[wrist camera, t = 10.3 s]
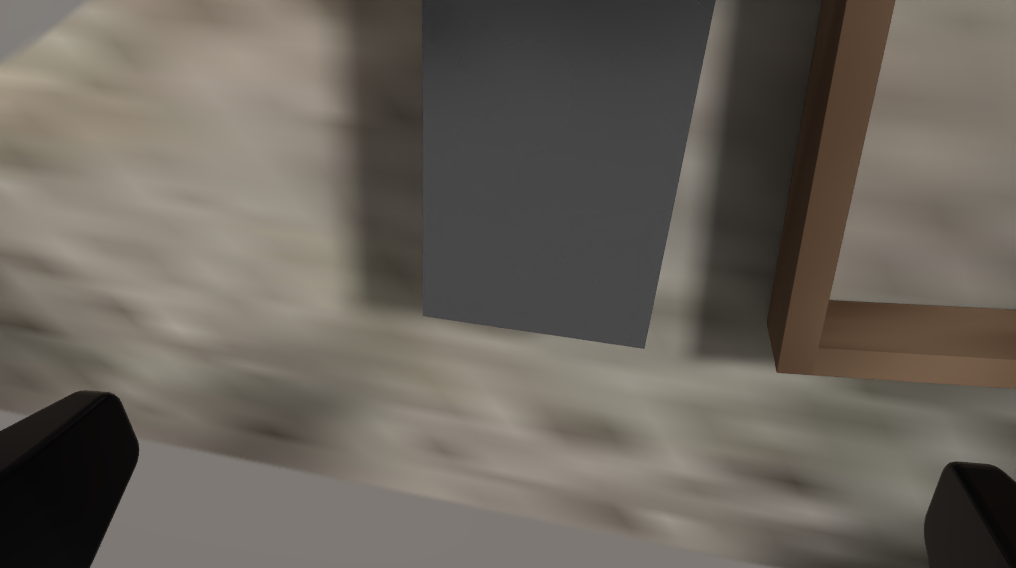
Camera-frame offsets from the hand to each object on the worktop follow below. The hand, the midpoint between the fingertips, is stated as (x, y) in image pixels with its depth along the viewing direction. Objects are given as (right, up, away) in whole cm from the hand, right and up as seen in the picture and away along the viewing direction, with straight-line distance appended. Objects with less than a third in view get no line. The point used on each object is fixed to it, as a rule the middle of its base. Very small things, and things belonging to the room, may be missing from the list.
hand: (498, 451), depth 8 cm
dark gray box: (+1, +6, +9) cm, 11 cm away
